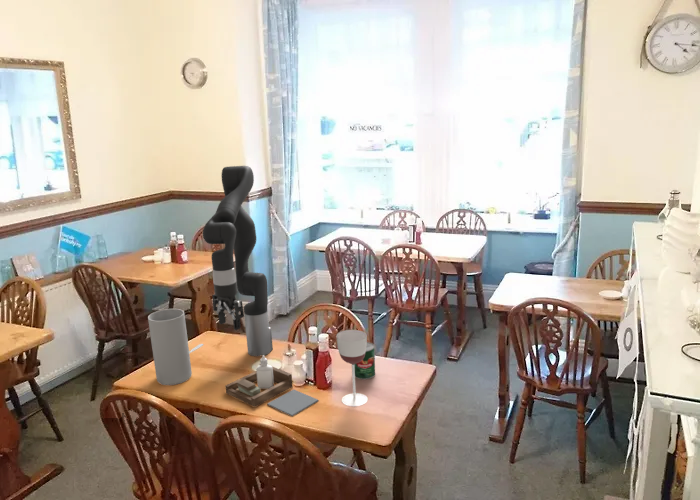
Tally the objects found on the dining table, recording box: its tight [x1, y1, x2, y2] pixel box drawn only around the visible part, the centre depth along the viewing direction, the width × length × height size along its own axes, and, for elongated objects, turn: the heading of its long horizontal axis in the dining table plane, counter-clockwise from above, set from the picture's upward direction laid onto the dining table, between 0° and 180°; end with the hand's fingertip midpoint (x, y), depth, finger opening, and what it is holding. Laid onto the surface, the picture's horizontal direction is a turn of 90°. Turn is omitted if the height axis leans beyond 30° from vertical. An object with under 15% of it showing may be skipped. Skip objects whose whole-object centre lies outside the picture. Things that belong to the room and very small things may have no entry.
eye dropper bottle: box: [255, 355, 275, 390], centre depth 200 cm, size 4×6×12 cm
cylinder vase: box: [147, 308, 193, 386], centre depth 208 cm, size 12×12×25 cm
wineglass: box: [336, 329, 369, 407], centre depth 187 cm, size 9×10×23 cm
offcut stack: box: [236, 379, 262, 397], centre depth 195 cm, size 4×9×5 cm, turn 48°
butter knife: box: [189, 343, 204, 355], centre depth 229 cm, size 1×27×3 cm
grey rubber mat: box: [267, 389, 320, 417], centre depth 190 cm, size 12×12×1 cm
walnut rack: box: [224, 363, 293, 408], centre depth 199 cm, size 17×16×5 cm
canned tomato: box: [354, 341, 376, 380], centre depth 206 cm, size 8×8×11 cm
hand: (229, 326), depth 195 cm, fingers open, 8 cm apart
